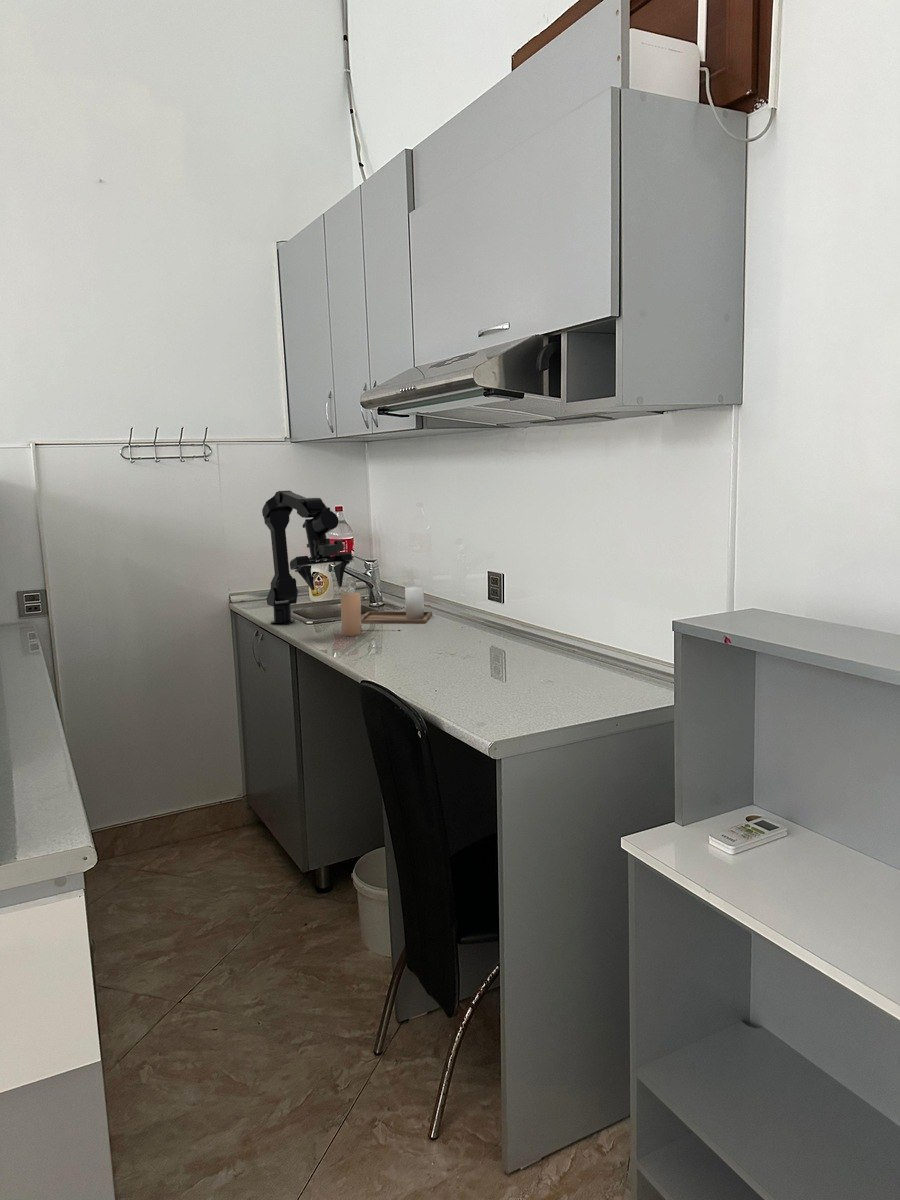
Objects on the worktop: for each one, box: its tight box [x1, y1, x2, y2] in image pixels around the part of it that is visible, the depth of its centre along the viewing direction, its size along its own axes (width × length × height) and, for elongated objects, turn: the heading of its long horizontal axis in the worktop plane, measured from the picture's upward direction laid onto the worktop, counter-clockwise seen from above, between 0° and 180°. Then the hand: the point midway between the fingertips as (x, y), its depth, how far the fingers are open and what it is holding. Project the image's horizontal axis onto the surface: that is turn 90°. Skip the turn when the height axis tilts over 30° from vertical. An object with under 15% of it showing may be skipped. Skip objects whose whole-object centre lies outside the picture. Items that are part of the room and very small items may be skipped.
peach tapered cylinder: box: [340, 591, 363, 637], centre depth 267 cm, size 6×6×12 cm
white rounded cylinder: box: [404, 585, 425, 619], centre depth 288 cm, size 6×6×10 cm
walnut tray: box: [361, 611, 433, 625], centre depth 287 cm, size 16×22×2 cm
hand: (327, 588), depth 262 cm, fingers open, 9 cm apart
